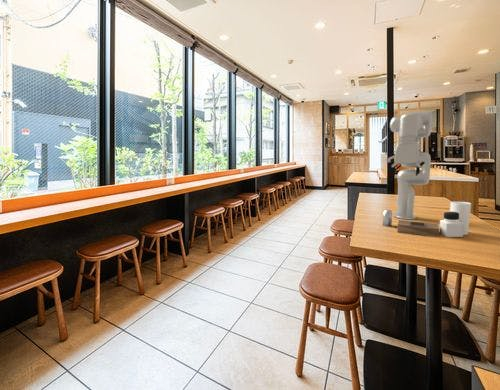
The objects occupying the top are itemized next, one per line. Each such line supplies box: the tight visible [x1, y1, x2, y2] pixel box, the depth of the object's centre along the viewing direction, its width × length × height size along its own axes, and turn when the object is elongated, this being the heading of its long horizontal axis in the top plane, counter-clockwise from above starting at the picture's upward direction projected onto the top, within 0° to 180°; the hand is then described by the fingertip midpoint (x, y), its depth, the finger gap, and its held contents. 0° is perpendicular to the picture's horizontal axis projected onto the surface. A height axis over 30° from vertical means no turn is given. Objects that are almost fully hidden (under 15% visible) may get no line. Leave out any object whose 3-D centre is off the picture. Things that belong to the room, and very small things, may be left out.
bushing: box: [382, 209, 393, 227], centre depth 149 cm, size 5×5×9 cm
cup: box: [449, 200, 472, 236], centre depth 133 cm, size 8×8×16 cm
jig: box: [397, 219, 440, 238], centre depth 137 cm, size 12×18×4 cm, turn 57°
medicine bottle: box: [439, 210, 464, 238], centre depth 128 cm, size 7×7×12 cm
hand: (405, 175), depth 126 cm, fingers open, 9 cm apart
